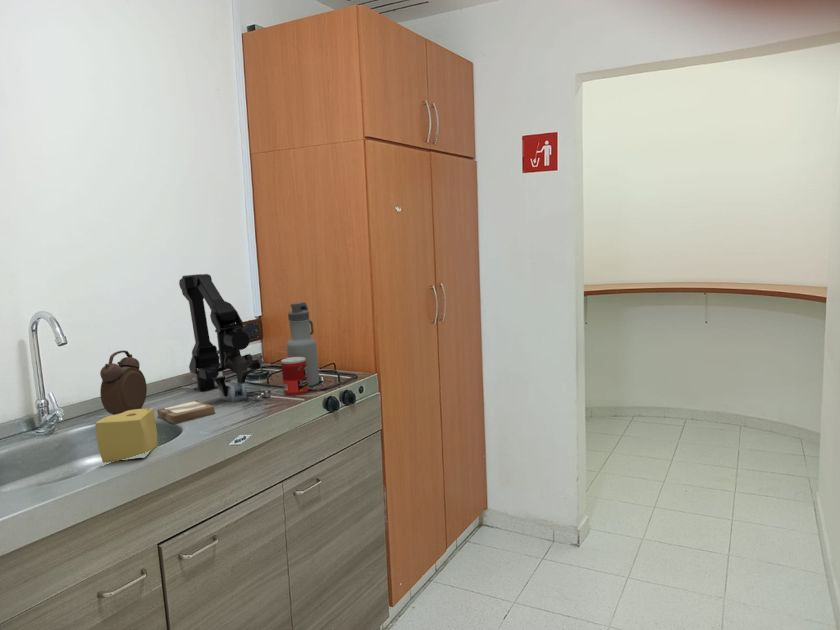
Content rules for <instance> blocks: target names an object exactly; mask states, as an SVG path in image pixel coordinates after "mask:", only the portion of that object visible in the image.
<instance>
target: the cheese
mask: <svg viewBox="0 0 840 630" xmlns="http://www.w3.org/2000/svg"><path fill="white" fill-rule="evenodd" d="M156 423H157V422H156V416H155V411H154V408H153V407H152V408H141V409H134V410H128V411H125V412H123V413H120V414H116V415H113V414H111V415H108V416H104V417H103V418H101V419H99V420H98V421H97V422H96V423H95V438H96V443H97V447H98V451H99V455H100V458H101V460H102V463H113V462H114V463H115V462H120V461H119V460H122V459H126V458H130V457H133V456H136V455H139V454H143V453H144V454H145V452H148V451H150V450H152V449H153V450H154V449H155V448H156V447H157V446H158V432H157V431H158V430H157V425H156ZM153 450H152V451H153Z"/></svg>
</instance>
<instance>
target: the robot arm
mask: <svg viewBox="0 0 840 630" xmlns="http://www.w3.org/2000/svg"><path fill="white" fill-rule="evenodd" d="M178 283H179V284H178V285H179V288H180V291H181V293H182V296H183V297H184V298H185V299H186V300H187V301H188V305H189V311H190V317H191V322H192V324H191V325H192V329H193V336H194V337H193V338H194V342H195V343H194V346H193V349H192V350H191V358H190V361H189V366H188V369H189V372H190V373H191V374H194V375H196V384H197V386H194V387H193V388H194V390H197V391H199V392H200V391H201V392H204V391H207V390H208V391H209V390H212V389H216V388H217V389H219V391H220V390H221V392H222V393H223V395H224V396H225V397H226V396H227V392H226V386H225V383H226V381H225V380H226V376H224V373H228V372H232V373H234V374H236V381H239V382H243V383H245V384H246V380H247V378H248V375H249V374H250V373H252V372H253V370H256V369H261V368H262V366H261V361H260V360H259V359H257V358H253V355H252V354H251V353H249V354H245V355H242V354H241V351H243V350H245V349H247V348H248V347H249V344H250V340H251V339H250V336H249V335H248V333H246V332H245V331H243V328H244V325H243V324H244V321H243V320H242V318H241V317H240V315H239V313H238V310H237V309H236V308H235V306H233V305H232V304H231V303H230V302H228V301H226V300H225V299H224V298H223V297H222V295H221V293H220V292H219V290H218V289H217V287H216V286H215V284H214V282H213V280H212V276H211V275H210V274H209V273H204V274H202V273H200V274H189V275H183V276H181V278H180V279H179V281H178ZM204 301H205V302H206V304H207V306H208V307H209V309H210V315H209V317H210V321H211V324H212V325H213V326H214V328H215V330H214V332H215V333H216V339H217V346H218V347H217V346H216V345H215V344H213V343H212V342H211V340H210V339H211V337H210V333H209V328H208V322H207V313H206V308H205V302H204ZM251 369H252V370H251Z"/></svg>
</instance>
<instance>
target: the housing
mask: <svg viewBox="0 0 840 630" xmlns="http://www.w3.org/2000/svg"><path fill="white" fill-rule="evenodd" d="M229 383H230V384H229ZM229 383H226V382H225V386H226V392H227V396H226V397H225V396H224V395H223V393H222V392H221V390H220V389H219V394H220V395H219V396H220V399H222V400H225V401H228V402H230V403H235V402H237V401H242V400H245V399H247V388H246V382H245V383H243V382H239V381H237V380H235V379H232V380H230V381H229Z"/></svg>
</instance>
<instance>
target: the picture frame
mask: <svg viewBox="0 0 840 630" xmlns="http://www.w3.org/2000/svg"><path fill="white" fill-rule="evenodd" d="M156 411H157V417H158V418H159V419H162V420H164V421H166V422H168V423H171V424H173V425H176V424H177V425H178V424H180V423H185V422H188V421H193V420H196V419H199V418H203V417H206V416H211V415H215V413H216V411H215V406H214V405H212V404H209V403H205V402H203V401H199V400H197V399H196V400H193V401H188V402H184V403H180V404H176V405H171V406H167V407H164V408H160V409H157V410H156Z"/></svg>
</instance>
